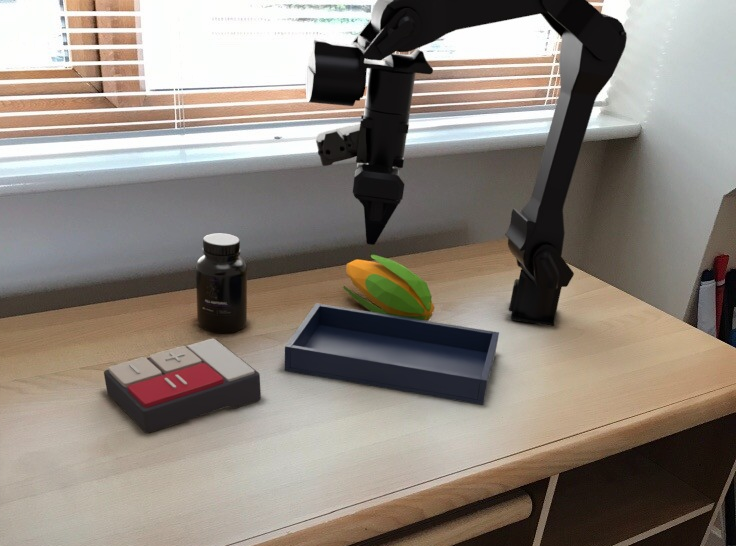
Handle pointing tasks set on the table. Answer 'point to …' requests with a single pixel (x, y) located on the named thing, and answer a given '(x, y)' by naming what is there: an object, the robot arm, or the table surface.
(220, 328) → the supplement bottle
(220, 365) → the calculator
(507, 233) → the robot arm
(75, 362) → the table surface
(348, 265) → the corn
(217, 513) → the table surface
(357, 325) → the tray
